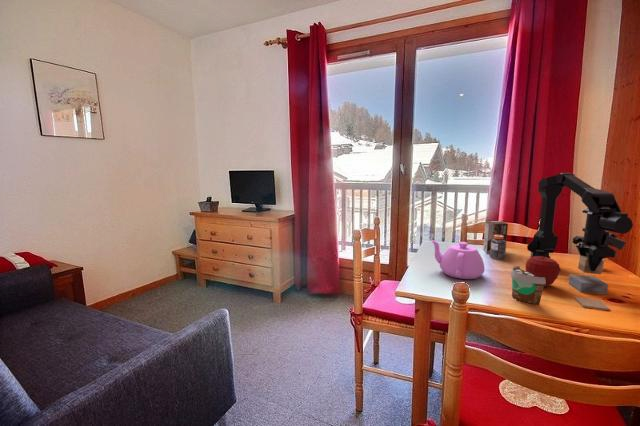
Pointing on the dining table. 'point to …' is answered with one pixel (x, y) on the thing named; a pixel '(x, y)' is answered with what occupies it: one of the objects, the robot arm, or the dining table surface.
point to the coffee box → (494, 233)
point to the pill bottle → (497, 247)
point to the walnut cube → (585, 266)
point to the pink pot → (460, 261)
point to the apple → (543, 268)
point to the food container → (526, 286)
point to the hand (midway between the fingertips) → (589, 268)
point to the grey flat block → (588, 284)
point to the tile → (591, 303)
